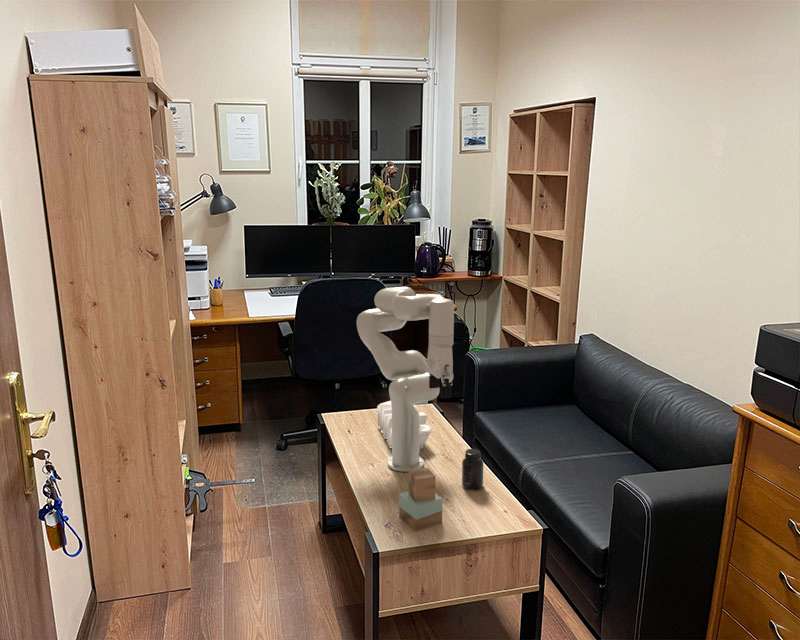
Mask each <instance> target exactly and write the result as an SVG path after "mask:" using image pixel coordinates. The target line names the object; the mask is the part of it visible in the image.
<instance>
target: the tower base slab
mask: <svg viewBox="0 0 800 640" xmlns="http://www.w3.org/2000/svg"><path fill="white" fill-rule="evenodd" d="M398 508H399V511H398V512H399V515H398V516H399V518H400V519H401V520H402V521H403V522H404V523H406V524H407V525H408V526H409V527H410V528H411V529H413V531H415V532H418V531H421V530H423V529H424V530H425V529H428V528H430V527H434V526H437V525H440V524H442V523H443V510H442V511H440V512H438V513H435V514H432V515H429V516H426V517H423V518H420V519H417V520H416V519H415V518H414V517H412V516H411V515H410V514H408V513H407V512H406V511H404V510H403V509H402V508H400V507H399V506H398Z"/></svg>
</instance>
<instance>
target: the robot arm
mask: <svg viewBox="0 0 800 640" xmlns="http://www.w3.org/2000/svg"><path fill="white" fill-rule="evenodd" d="M373 300H374V305H375V308H372V309H371V308H370V309H366V310H364V311H362V312H361V313H359V314H358V315H357V318H356V329H357V332H358V336H359V337H360V340H361V341H362V342H363V344H364V345H365V346H366V347H367V349H368V350H369V351H370V353H371V354H372V355H373V358H374V360H375V362H376V364H377V365H378V367H379V369H380V371H381V373H382V375H383V376H384V377H385V378H386V379H387V380H389V381H391V383H389V386H388V393H389V399H390V400H389V401H391V407H392V449H391V457H389V458H388V459H387V466H388V467H389V468H390V469H391V470H394V471H397V472H400V473H409V470H415V469H422V468H424V466H425V465H424V464H425V461H424V459H423V458H422V457H421V456H420V450H421V449H420V416H419V413H420V412H419V411H418V410H417V408H416V409H415V408H414V405H415V404H419V403H425V402H428V401H433V400H434V399H436V398H437V397H438V396H439V394H440V398H441V399H450V398H452V396H453V395H452V392H453V391H452V389H453V388H452V387H453V382H454V372H453V371H454V370H453V369H454V360H453V358H454V357H453V346H454V335H455V334H454V333H455V332H454V328H455V327H454V326H455V325H454V324H455V303H454V301H453V300H452V299H449V298H445V297H444V296H442V295H440V294H438V293H429V294H421V295H420V294H418V295H416V293H415V290H413V289H412V288H411V287H409V286H398V287H387V288H382V289H380V290H379V291H377V292H376V294H375V296H374V299H373ZM420 320H428V346H427V347H428V349H427V359H426V358H425V357H424V355H423V354H422V353H421V352H419V350H414V349H411V350H402V351H400V350H399V349H398V348H397V347H396V344H395V343H394V342H393V340H391V339H390V338H389V337H388V336H386V335H384V333H382V332H389V331H396V330H400V329H402V328H403V327H404V326H405V324H406V323H407V321H414V322H415V321H420ZM440 379H441V384H442V385H440ZM445 379H446V380H445ZM440 386H441V387H440Z"/></svg>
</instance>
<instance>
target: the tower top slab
mask: <svg viewBox="0 0 800 640" xmlns="http://www.w3.org/2000/svg"><path fill="white" fill-rule="evenodd" d="M399 507H400V508H402V509H403V510H404V511H406V512H407V513H408V514H410V515H411V516H412V517H414V518H415V519H416V520H417V519H420V518H423V517H426V516H429V515H432V514H435V513H438V512H440V511H442V512H443V498H442V496H439V495H438V494H437V493H435V499H432V500H426V501H420V502H415V501H414V499H413V498H412V497H411V495H410V494H409V490H407V491H403V492H401V493H398V508H399Z"/></svg>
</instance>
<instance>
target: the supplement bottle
mask: <svg viewBox="0 0 800 640" xmlns="http://www.w3.org/2000/svg"><path fill="white" fill-rule="evenodd" d="M481 457H482V456H481V451H480V450H479V449H476V448H468V449H466V450H465V454H464V458H463V459H462V461H461V465H462V466H461V486H462V487H463V488H464V489H466V490H468V491H478V490H481V489H482V488H483V486H484V460H483V459H482V458H481Z"/></svg>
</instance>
